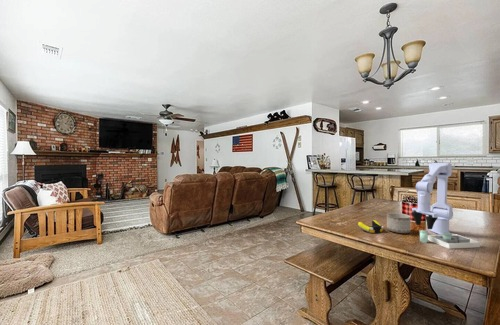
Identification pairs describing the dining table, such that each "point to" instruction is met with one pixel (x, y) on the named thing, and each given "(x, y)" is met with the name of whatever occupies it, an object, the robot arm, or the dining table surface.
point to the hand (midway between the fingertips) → (423, 226)
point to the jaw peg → (423, 236)
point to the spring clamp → (371, 227)
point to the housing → (453, 241)
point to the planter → (398, 222)
